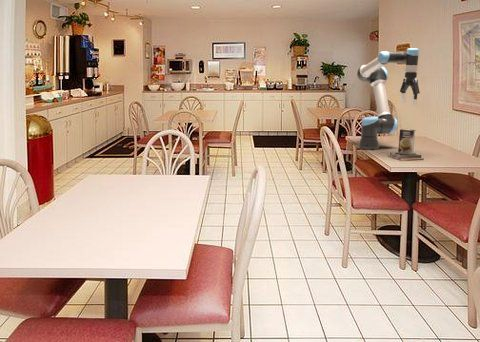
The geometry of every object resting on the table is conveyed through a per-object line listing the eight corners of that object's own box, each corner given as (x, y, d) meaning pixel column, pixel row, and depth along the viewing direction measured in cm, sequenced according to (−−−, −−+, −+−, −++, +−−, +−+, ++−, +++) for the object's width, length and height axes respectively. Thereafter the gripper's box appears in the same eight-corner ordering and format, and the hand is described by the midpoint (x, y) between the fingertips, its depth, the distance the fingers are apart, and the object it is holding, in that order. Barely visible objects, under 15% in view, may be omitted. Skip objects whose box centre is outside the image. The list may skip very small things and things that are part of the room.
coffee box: (397, 153, 316) (399, 129, 313) (399, 152, 322) (401, 128, 318) (412, 154, 312) (413, 130, 309) (413, 153, 317) (415, 129, 314)
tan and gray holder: (387, 156, 323) (387, 152, 323) (408, 155, 327) (408, 151, 327) (401, 160, 307) (402, 156, 307) (423, 159, 311) (424, 155, 311)
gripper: (426, 72, 312) (424, 104, 316) (405, 71, 335) (403, 101, 340) (416, 72, 310) (413, 105, 315) (396, 71, 334) (393, 102, 339)
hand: (408, 103), depth 328 cm, fingers open, 13 cm apart
